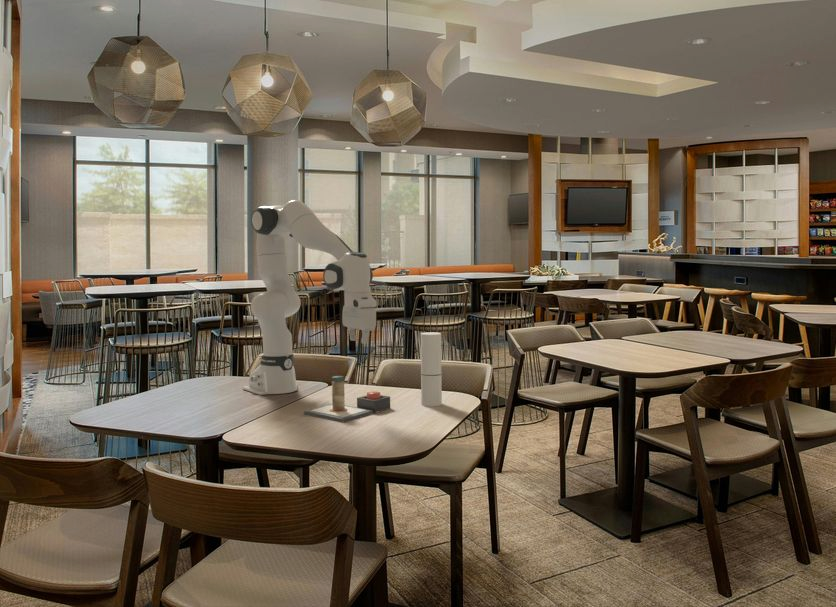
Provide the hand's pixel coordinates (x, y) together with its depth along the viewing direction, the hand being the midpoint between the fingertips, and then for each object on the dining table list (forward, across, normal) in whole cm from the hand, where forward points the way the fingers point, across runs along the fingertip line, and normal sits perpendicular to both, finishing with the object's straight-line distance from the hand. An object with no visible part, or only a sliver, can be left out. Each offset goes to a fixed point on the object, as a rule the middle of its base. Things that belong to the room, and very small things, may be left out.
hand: (358, 342), depth 222 cm
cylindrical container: (+24, +4, +26) cm, 35 cm away
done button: (+21, -1, +5) cm, 22 cm away
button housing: (+24, -1, +5) cm, 24 cm away
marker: (+22, 0, -8) cm, 23 cm away
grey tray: (+23, 0, -8) cm, 25 cm away
